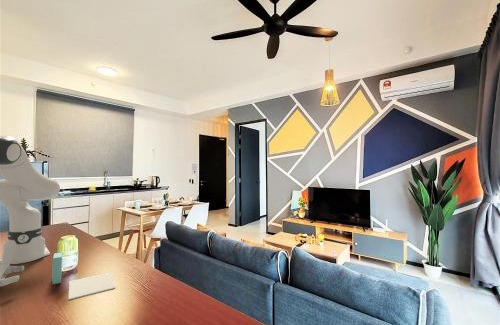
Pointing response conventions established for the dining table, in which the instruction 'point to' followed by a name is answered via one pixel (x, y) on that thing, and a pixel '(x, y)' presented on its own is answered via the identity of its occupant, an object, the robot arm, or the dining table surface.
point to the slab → (57, 268)
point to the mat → (90, 285)
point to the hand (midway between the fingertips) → (21, 272)
